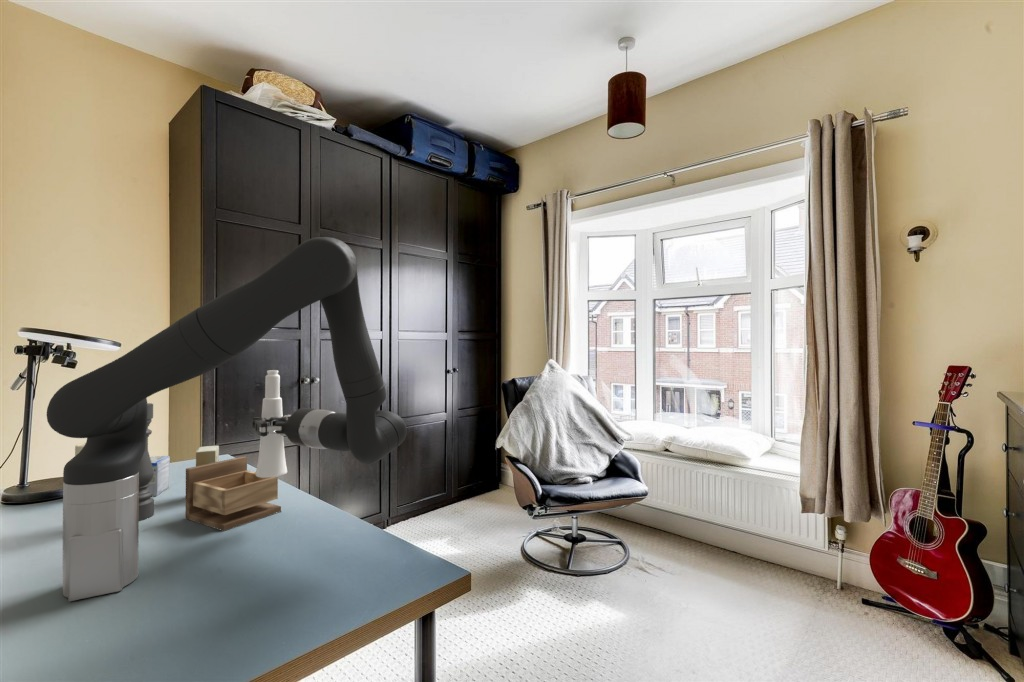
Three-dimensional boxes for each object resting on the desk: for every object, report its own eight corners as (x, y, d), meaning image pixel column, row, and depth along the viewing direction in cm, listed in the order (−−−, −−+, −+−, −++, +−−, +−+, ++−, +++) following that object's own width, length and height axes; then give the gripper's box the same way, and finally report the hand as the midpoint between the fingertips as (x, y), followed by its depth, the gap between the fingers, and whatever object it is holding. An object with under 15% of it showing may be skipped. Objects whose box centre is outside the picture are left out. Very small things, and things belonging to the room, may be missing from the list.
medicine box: (150, 488, 126) (150, 456, 126) (169, 487, 127) (170, 455, 127) (136, 498, 118) (136, 463, 118) (157, 496, 120) (157, 462, 120)
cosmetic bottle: (250, 474, 100) (252, 370, 101) (280, 468, 105) (281, 369, 105) (261, 479, 96) (263, 371, 97) (292, 473, 101) (293, 370, 101)
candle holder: (161, 512, 108) (161, 403, 108) (136, 523, 102) (137, 406, 102) (136, 511, 108) (136, 402, 109) (110, 522, 102) (111, 406, 102)
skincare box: (199, 494, 122) (199, 446, 122) (219, 491, 123) (219, 444, 123) (194, 501, 116) (195, 451, 116) (215, 499, 117) (215, 449, 118)
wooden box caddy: (280, 511, 109) (281, 463, 109) (223, 531, 98) (223, 477, 98) (243, 501, 116) (243, 456, 116) (185, 518, 104) (185, 468, 105)
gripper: (345, 405, 100) (292, 400, 108) (285, 413, 87) (230, 407, 96) (345, 441, 100) (291, 433, 108) (284, 454, 87) (229, 444, 96)
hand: (263, 421), depth 102 cm, fingers closed on cosmetic bottle, 3 cm apart
